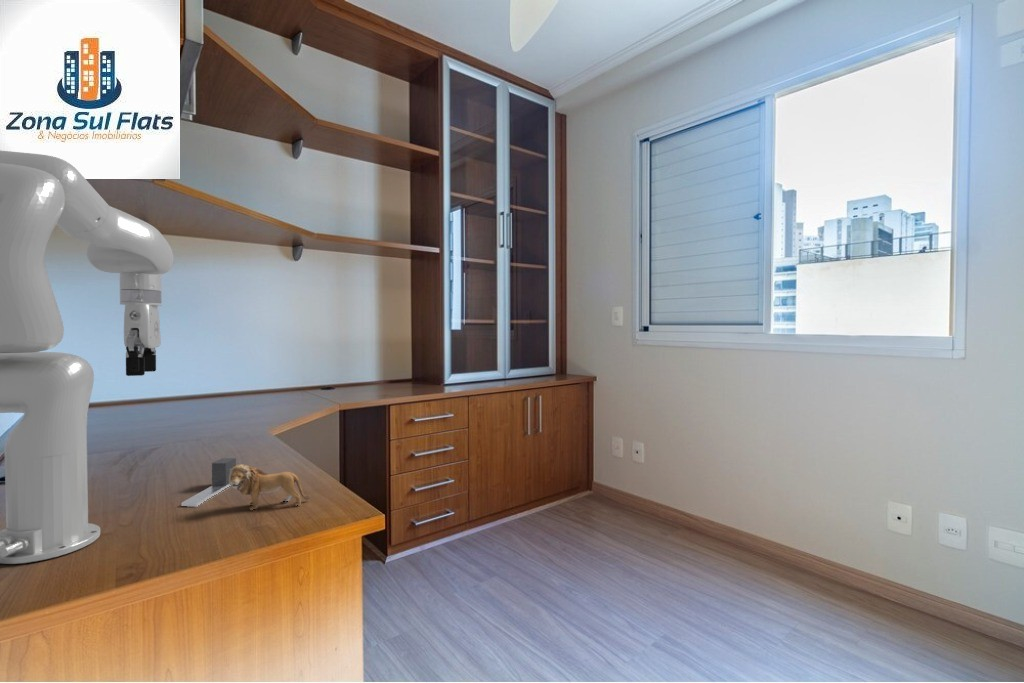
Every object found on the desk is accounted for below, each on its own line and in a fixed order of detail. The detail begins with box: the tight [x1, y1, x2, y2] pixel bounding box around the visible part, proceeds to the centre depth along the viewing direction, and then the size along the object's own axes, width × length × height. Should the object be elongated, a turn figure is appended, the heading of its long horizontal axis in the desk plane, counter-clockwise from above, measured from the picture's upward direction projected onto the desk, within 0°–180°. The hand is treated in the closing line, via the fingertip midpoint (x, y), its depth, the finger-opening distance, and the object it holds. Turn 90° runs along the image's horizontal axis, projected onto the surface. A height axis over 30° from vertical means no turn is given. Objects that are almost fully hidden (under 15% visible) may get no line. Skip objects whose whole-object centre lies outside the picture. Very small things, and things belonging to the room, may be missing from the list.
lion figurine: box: [229, 464, 311, 511], centre depth 96 cm, size 15×5×9 cm, turn 114°
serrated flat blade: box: [180, 457, 237, 508], centre depth 101 cm, size 14×3×6 cm, turn 1°
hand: (141, 373), depth 109 cm, fingers open, 9 cm apart
